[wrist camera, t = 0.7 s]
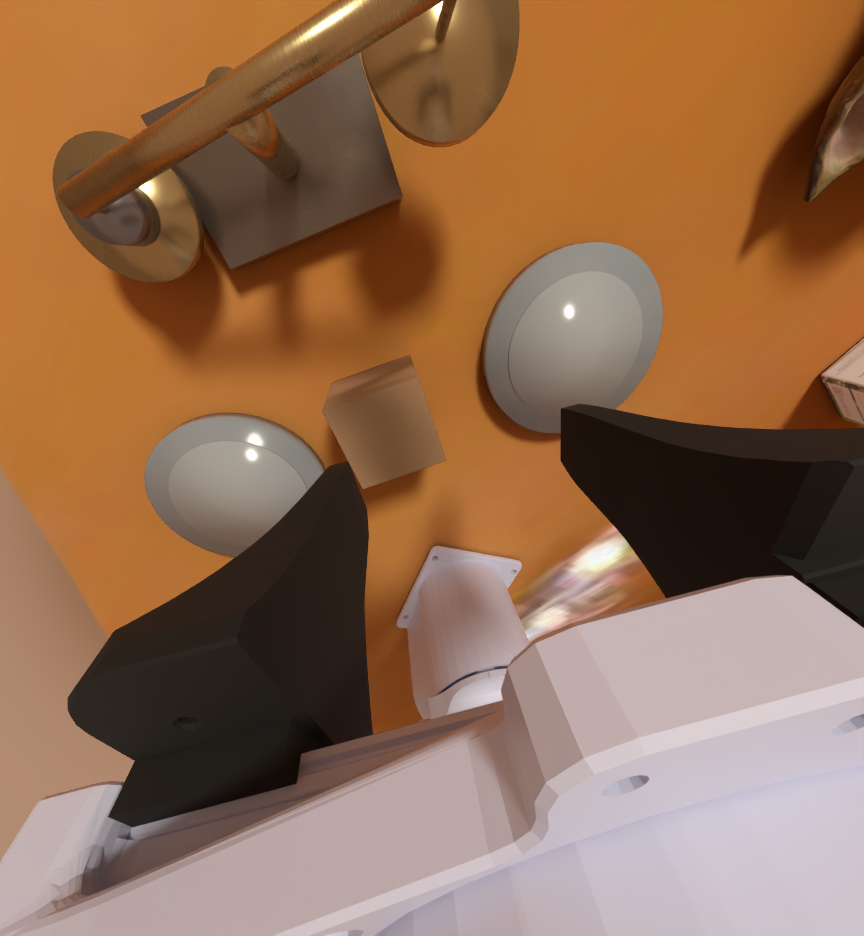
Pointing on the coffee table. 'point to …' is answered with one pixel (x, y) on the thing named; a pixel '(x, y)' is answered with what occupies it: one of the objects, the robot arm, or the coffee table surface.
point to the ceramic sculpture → (839, 135)
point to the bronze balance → (287, 136)
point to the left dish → (228, 479)
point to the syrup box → (848, 384)
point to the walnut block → (383, 422)
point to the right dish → (571, 333)
